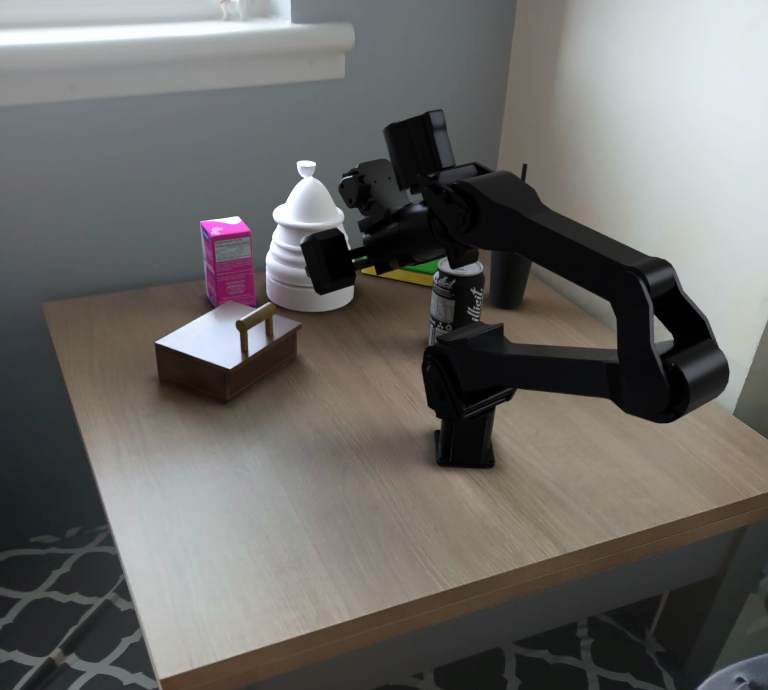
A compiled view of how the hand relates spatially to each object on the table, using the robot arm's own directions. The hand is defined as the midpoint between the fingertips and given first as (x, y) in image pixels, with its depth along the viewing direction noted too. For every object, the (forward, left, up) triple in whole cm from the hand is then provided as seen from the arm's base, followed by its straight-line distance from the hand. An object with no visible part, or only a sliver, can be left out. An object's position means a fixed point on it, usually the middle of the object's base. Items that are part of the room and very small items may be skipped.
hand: (338, 263), depth 104 cm
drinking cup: (+23, -24, -14) cm, 36 cm away
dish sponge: (+32, -10, -14) cm, 36 cm away
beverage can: (+7, -15, -14) cm, 22 cm away
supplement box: (+18, +16, -14) cm, 28 cm away
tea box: (-1, +13, -14) cm, 20 cm away
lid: (-1, +13, -10) cm, 16 cm away
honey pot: (+23, +5, -14) cm, 27 cm away
